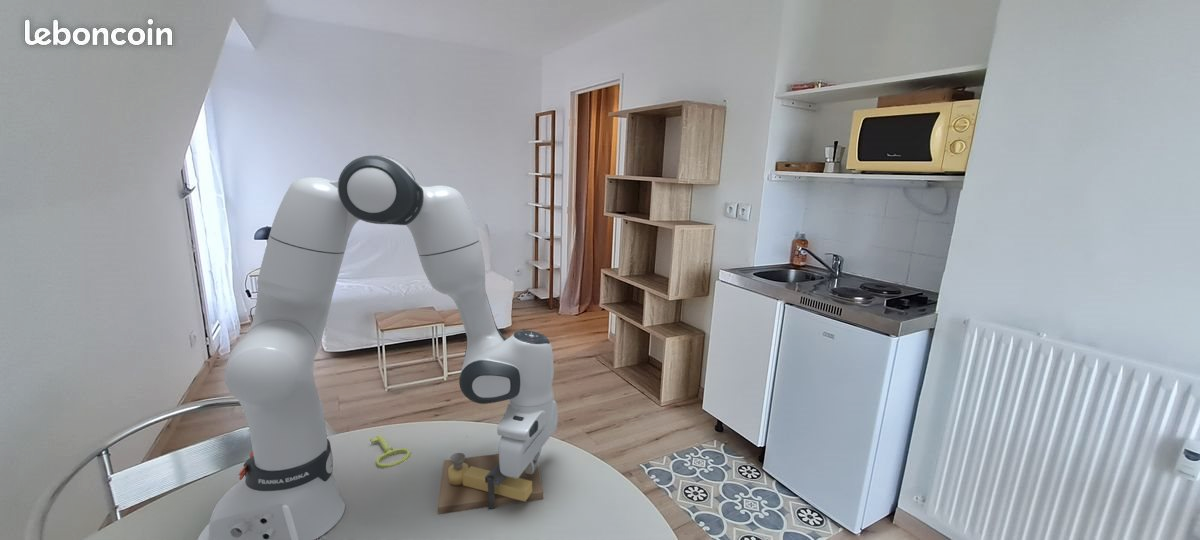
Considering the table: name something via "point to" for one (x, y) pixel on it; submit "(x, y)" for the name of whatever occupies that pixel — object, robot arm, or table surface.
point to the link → (476, 480)
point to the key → (389, 453)
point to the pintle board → (471, 498)
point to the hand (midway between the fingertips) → (531, 469)
